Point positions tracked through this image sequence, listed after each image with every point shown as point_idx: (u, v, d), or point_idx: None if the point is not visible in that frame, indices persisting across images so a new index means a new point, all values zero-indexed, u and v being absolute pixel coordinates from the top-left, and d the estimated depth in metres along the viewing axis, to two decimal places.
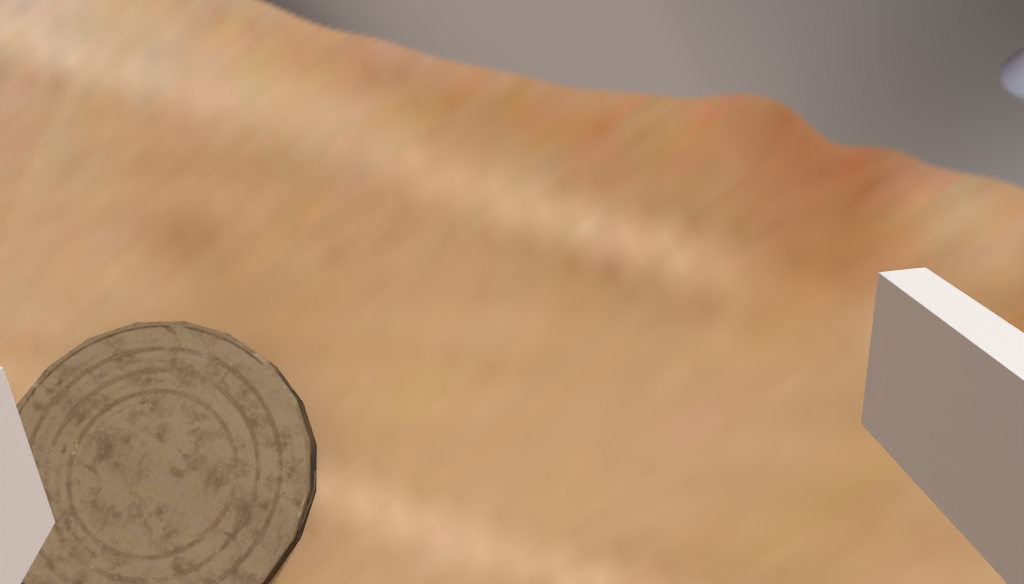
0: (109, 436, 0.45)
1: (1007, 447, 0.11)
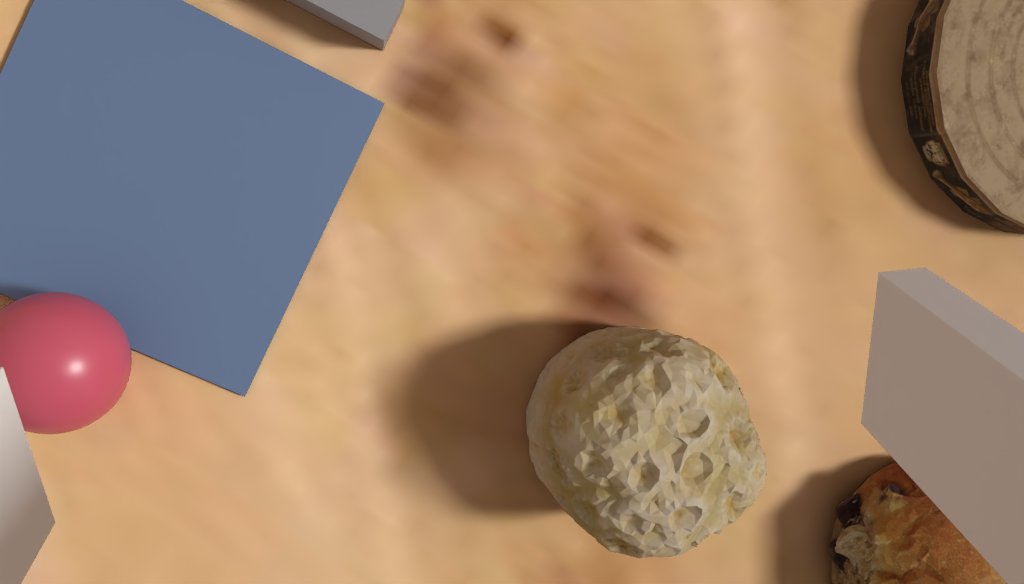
0: None
1: (1007, 447, 0.11)
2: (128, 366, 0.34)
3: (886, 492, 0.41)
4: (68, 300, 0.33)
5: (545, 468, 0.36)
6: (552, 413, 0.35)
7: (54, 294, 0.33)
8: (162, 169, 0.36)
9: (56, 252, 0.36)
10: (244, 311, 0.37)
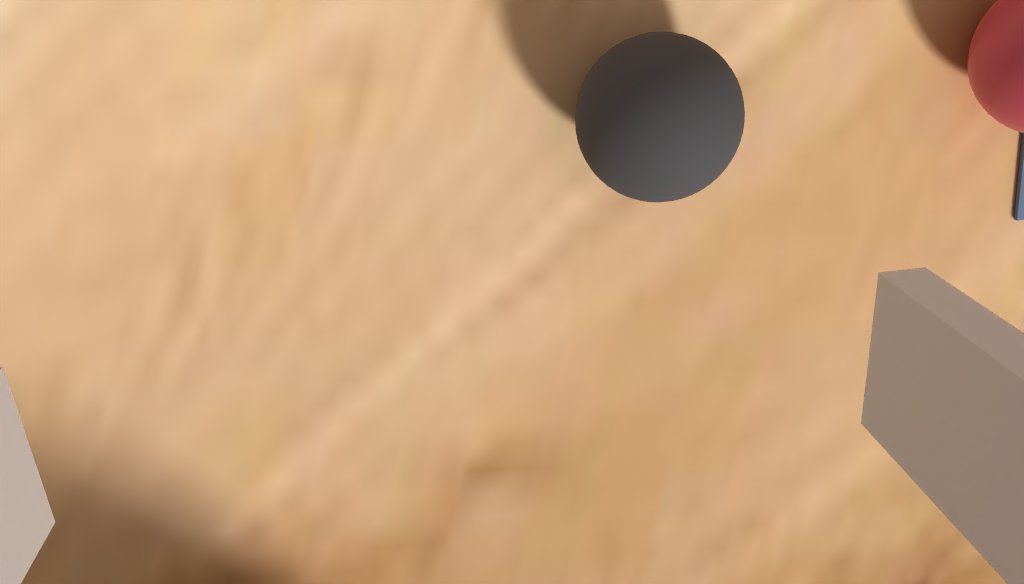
0: None
1: (1007, 447, 0.11)
2: None
3: None
4: None
5: None
6: None
7: None
8: None
9: None
10: None
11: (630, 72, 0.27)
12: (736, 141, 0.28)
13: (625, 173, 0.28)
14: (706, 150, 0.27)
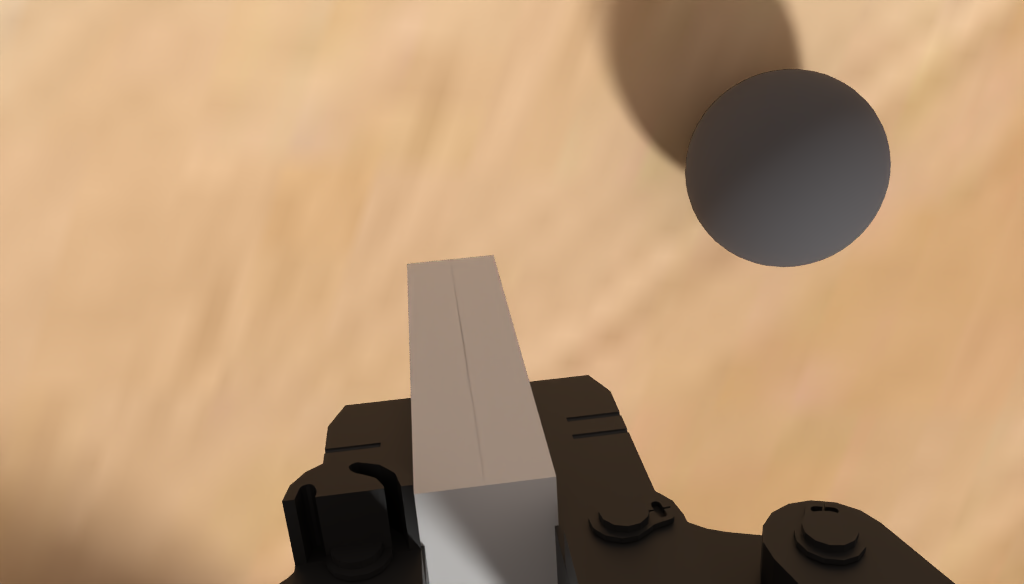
0: None
1: None
2: None
3: None
4: None
5: None
6: None
7: None
8: None
9: None
10: None
11: (768, 116, 0.22)
12: (880, 204, 0.24)
13: (749, 234, 0.23)
14: (851, 214, 0.23)
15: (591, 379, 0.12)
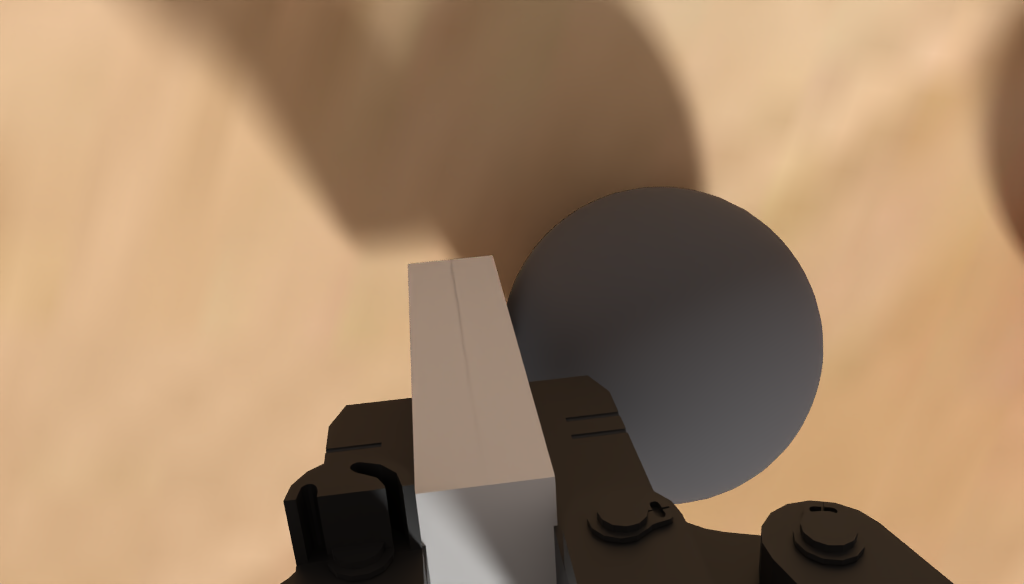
0: None
1: None
2: None
3: None
4: None
5: None
6: None
7: None
8: None
9: None
10: None
11: (685, 280, 0.13)
12: None
13: (672, 478, 0.13)
14: (807, 411, 0.14)
15: (590, 380, 0.12)
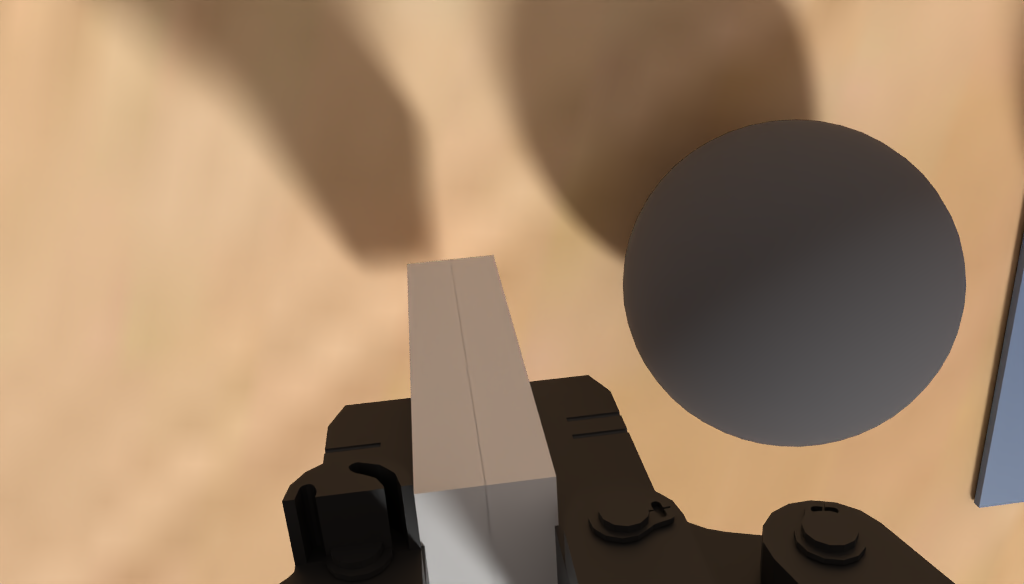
0: None
1: None
2: None
3: None
4: None
5: None
6: None
7: None
8: None
9: None
10: None
11: None
12: None
13: None
14: None
15: (591, 380, 0.12)
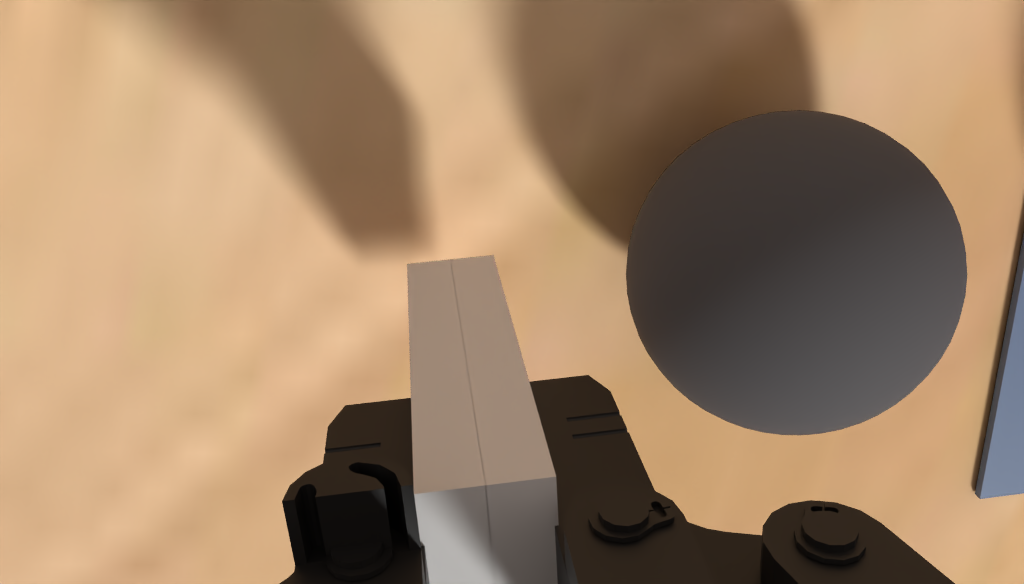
0: None
1: None
2: None
3: None
4: None
5: None
6: None
7: None
8: None
9: None
10: None
11: None
12: None
13: None
14: None
15: (591, 380, 0.12)
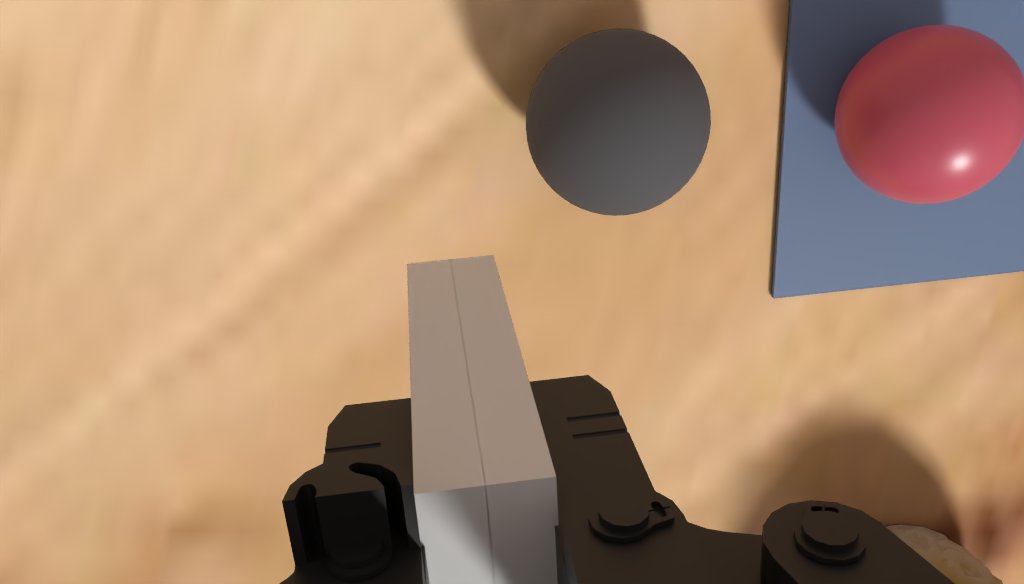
0: None
1: None
2: None
3: None
4: None
5: None
6: None
7: None
8: None
9: (862, 32, 0.29)
10: (865, 250, 0.32)
11: None
12: None
13: None
14: None
15: (591, 379, 0.12)
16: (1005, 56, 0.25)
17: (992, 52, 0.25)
